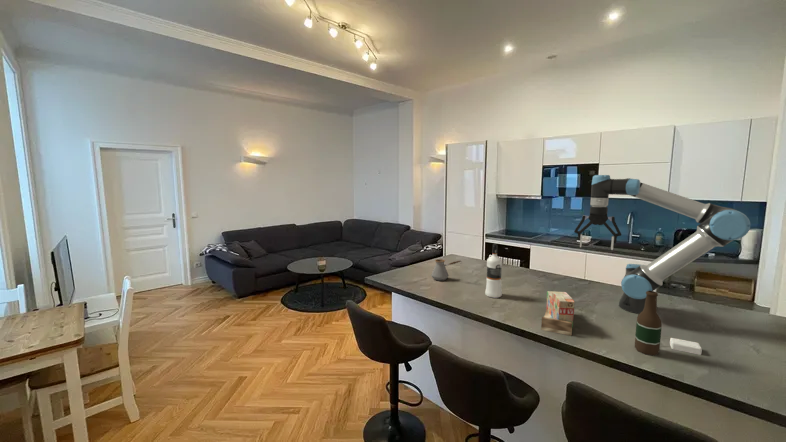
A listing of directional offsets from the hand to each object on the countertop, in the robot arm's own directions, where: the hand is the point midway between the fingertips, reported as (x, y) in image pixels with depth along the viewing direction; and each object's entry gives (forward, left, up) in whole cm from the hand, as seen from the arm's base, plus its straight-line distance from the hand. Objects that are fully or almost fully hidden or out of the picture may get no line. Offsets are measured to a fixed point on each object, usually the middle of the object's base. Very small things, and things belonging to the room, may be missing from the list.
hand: (595, 248), depth 170 cm
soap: (-31, +30, -32) cm, 54 cm away
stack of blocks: (+14, +26, -30) cm, 42 cm away
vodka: (+49, +5, -32) cm, 59 cm away
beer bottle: (-18, +39, -32) cm, 54 cm away
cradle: (+14, +26, -32) cm, 43 cm away
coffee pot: (+83, -9, -32) cm, 89 cm away
